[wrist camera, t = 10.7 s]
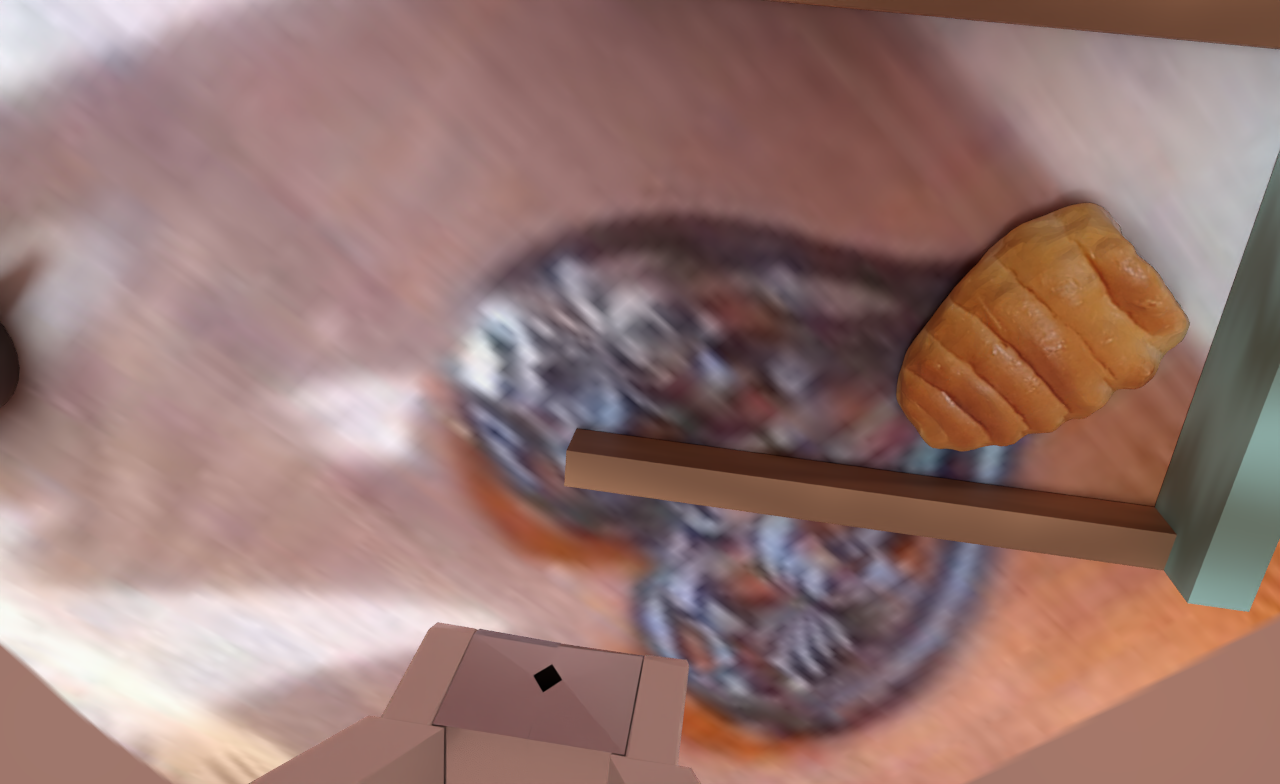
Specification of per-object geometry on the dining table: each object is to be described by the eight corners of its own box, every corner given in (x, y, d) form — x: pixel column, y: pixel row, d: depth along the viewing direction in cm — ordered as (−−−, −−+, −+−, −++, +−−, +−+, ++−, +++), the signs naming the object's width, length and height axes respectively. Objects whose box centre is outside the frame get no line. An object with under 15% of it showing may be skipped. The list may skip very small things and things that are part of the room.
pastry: (964, 473, 35) (986, 523, 31) (848, 349, 34) (857, 387, 30) (1189, 313, 32) (1241, 349, 28) (1069, 170, 30) (1108, 189, 27)
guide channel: (610, -66, 29) (588, -79, 25) (1404, 6, 27) (1503, 3, 23) (574, 462, 36) (552, 511, 33) (1197, 548, 34) (1248, 611, 31)
